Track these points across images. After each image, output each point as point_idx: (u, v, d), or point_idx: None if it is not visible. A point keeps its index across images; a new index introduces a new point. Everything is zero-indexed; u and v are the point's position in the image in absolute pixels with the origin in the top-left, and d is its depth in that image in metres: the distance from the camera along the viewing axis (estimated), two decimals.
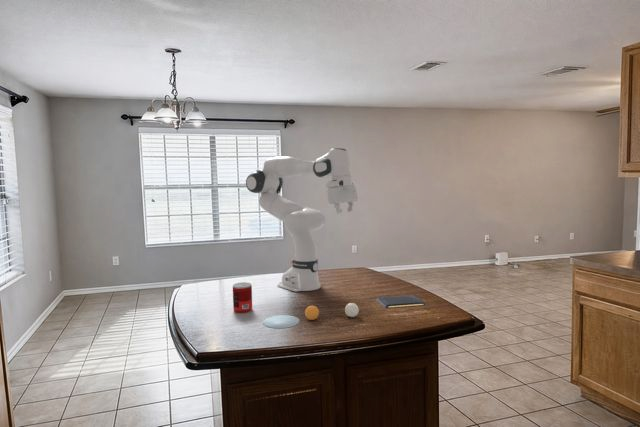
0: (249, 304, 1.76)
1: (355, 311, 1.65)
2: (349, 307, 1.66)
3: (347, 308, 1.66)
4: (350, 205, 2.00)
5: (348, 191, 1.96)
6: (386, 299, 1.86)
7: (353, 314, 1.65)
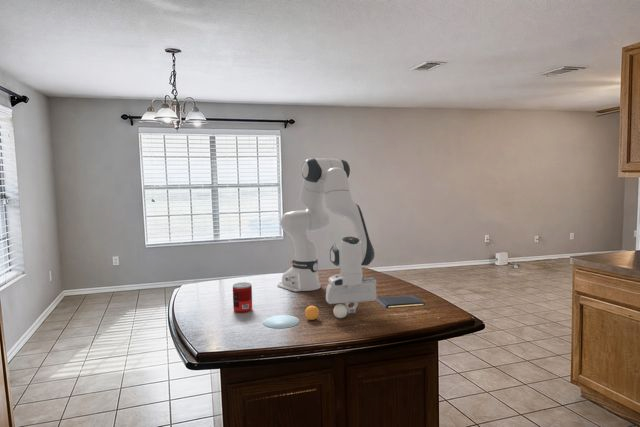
0: (249, 304, 1.76)
1: (342, 311, 1.64)
2: (336, 315, 1.65)
3: (337, 317, 1.65)
4: (354, 305, 1.68)
5: (358, 289, 1.66)
6: (386, 299, 1.86)
7: (344, 313, 1.64)
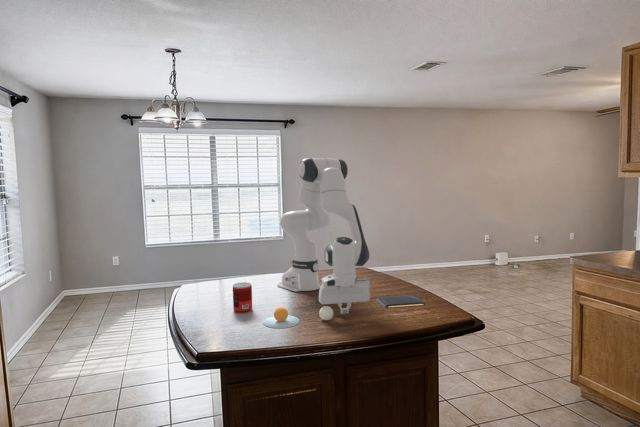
0: (249, 304, 1.76)
1: (326, 318, 1.62)
2: (332, 316, 1.64)
3: None
4: (347, 306, 1.67)
5: (351, 290, 1.65)
6: (386, 299, 1.86)
7: (327, 315, 1.61)
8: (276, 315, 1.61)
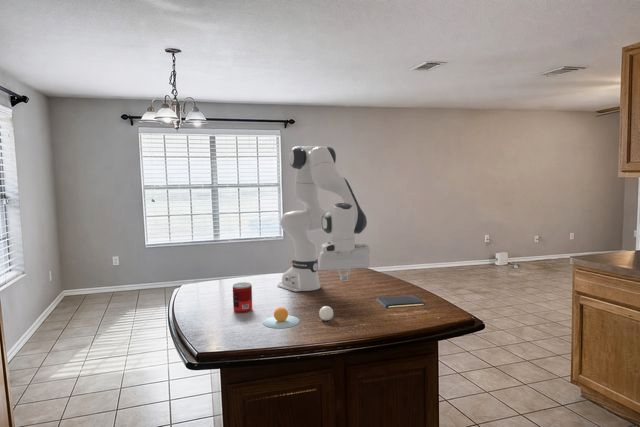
0: (249, 304, 1.76)
1: (326, 318, 1.62)
2: (332, 316, 1.64)
3: None
4: (347, 272, 1.66)
5: (351, 256, 1.64)
6: (386, 299, 1.86)
7: (327, 315, 1.61)
8: (276, 315, 1.61)
